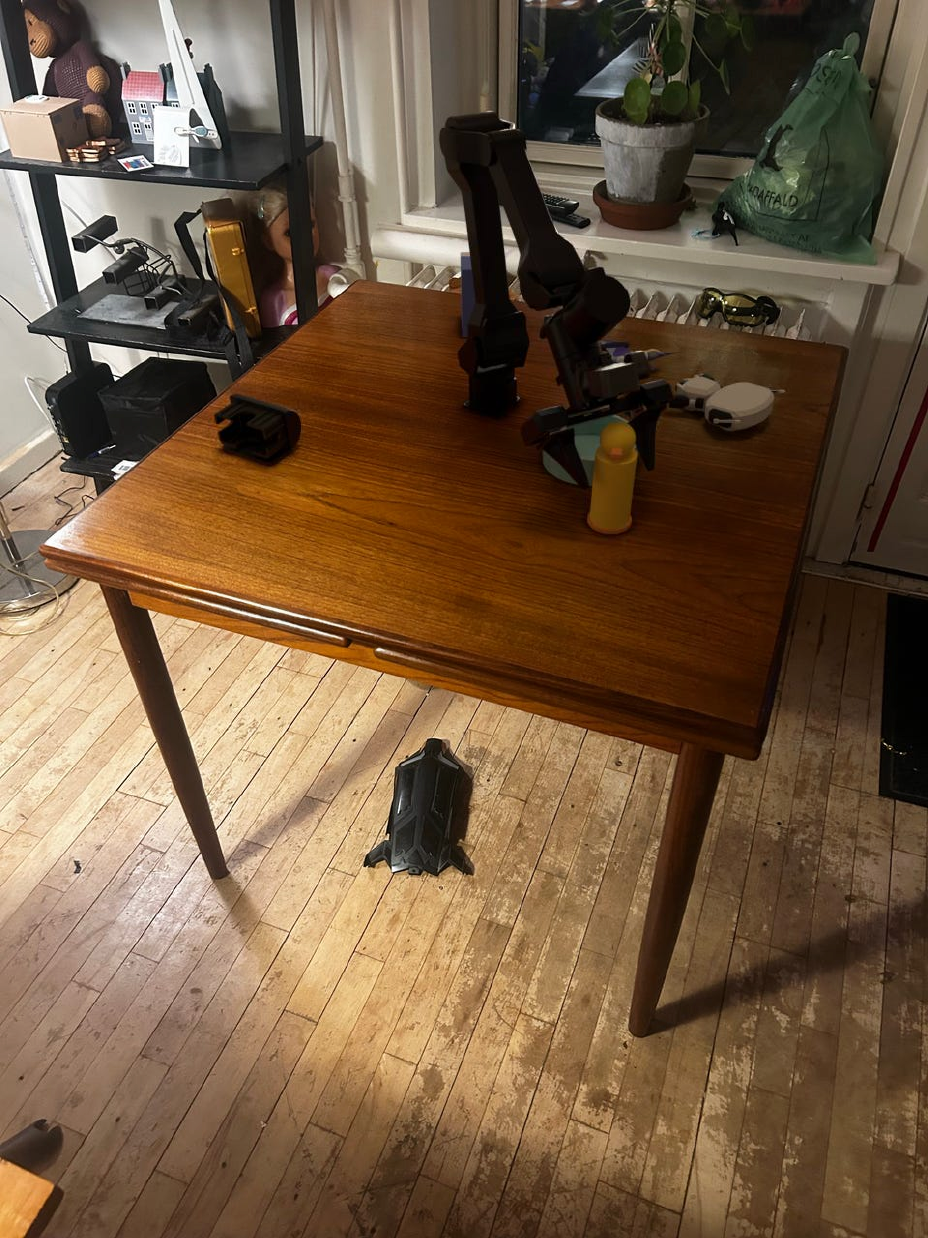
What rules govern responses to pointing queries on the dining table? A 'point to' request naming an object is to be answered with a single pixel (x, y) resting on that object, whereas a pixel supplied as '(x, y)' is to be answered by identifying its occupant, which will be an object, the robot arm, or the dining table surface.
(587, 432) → the pan
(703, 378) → the robot toy
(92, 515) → the dining table surface
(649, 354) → the toy airplane
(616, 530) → the duck toy
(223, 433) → the end cap
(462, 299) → the walkman
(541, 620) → the dining table surface
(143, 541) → the dining table surface
